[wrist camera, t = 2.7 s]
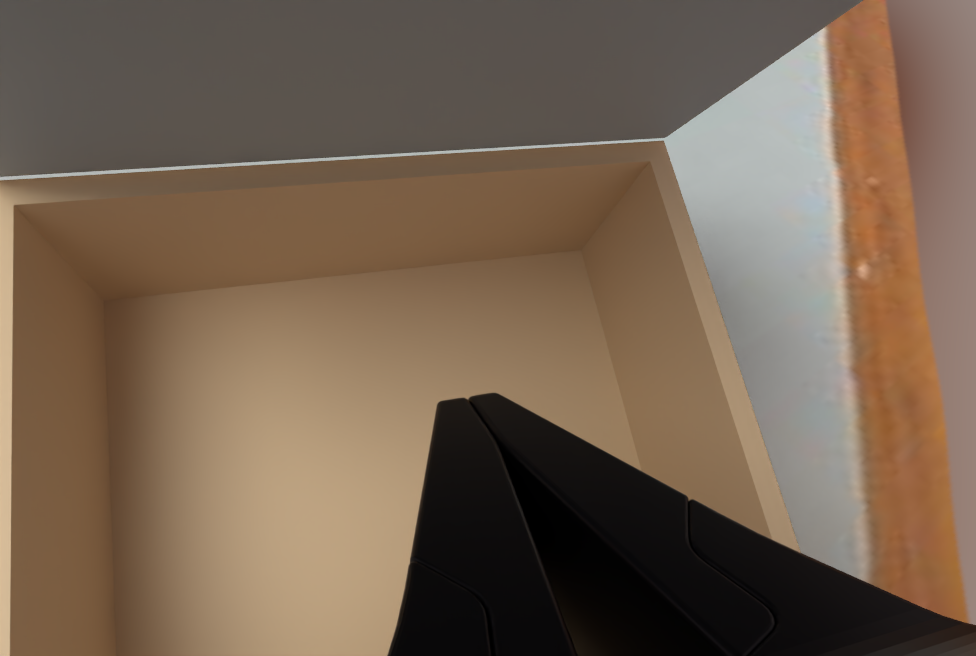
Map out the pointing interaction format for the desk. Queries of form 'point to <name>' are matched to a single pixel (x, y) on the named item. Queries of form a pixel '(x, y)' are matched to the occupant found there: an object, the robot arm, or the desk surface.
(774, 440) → the desk surface
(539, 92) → the mailer lid
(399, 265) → the mailer box
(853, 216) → the desk surface
